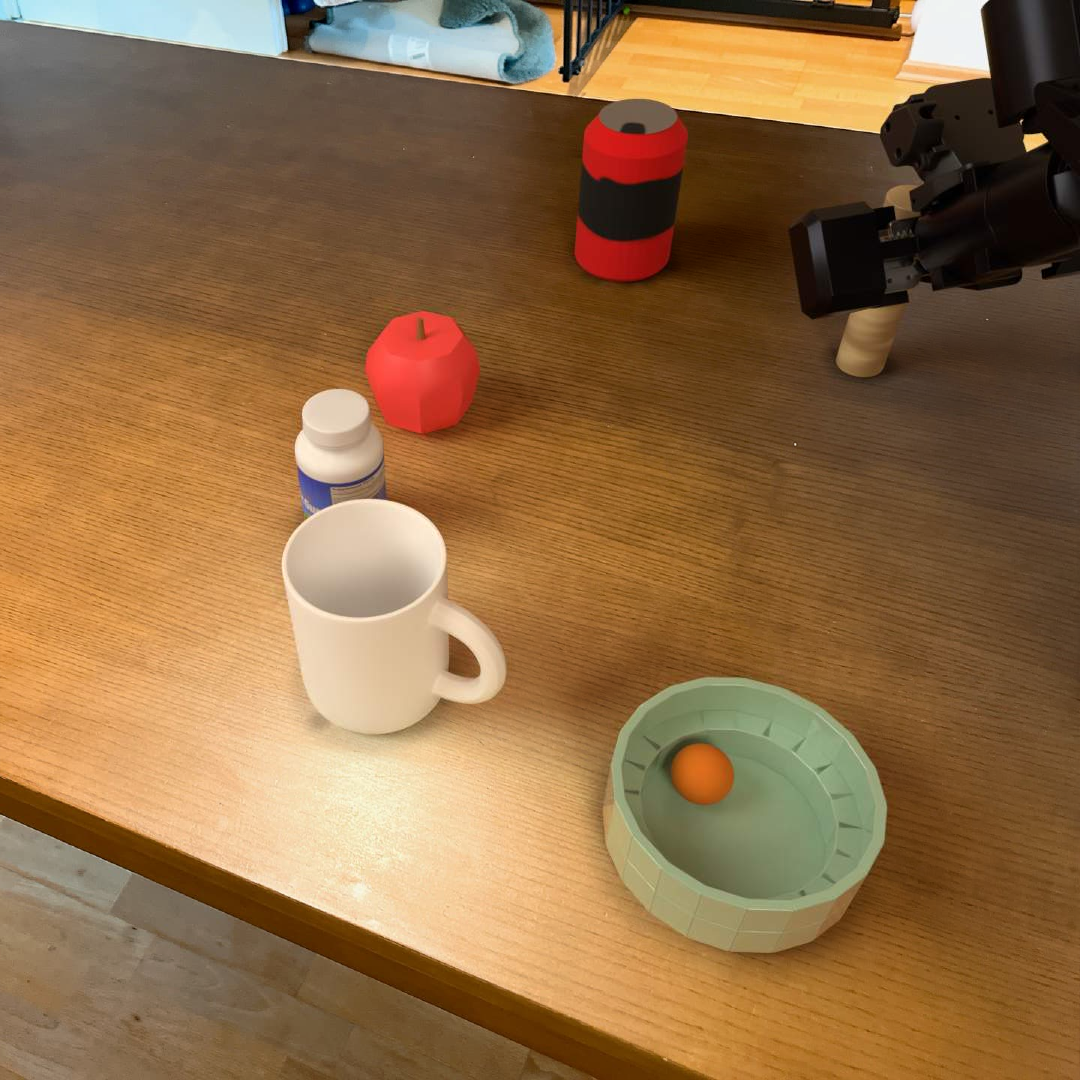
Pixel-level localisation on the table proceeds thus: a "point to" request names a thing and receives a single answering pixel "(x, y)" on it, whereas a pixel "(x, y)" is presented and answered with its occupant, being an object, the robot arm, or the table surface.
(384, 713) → the mug
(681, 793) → the bead
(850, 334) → the stick
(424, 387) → the apple
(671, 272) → the table surface
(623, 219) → the soda can
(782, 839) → the bowl
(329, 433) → the pill bottle
